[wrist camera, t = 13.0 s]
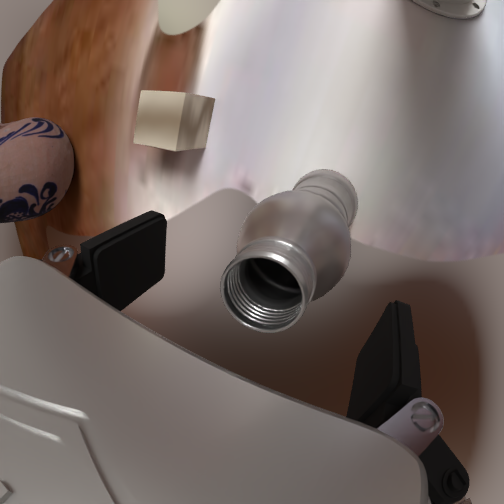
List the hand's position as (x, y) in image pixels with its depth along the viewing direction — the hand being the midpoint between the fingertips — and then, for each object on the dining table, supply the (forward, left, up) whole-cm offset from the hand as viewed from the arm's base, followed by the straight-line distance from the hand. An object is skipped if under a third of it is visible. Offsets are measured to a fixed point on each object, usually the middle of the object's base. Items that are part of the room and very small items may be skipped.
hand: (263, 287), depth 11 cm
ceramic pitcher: (+4, -47, -20) cm, 52 cm away
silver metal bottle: (+1, 0, -20) cm, 20 cm away
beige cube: (-4, -18, -20) cm, 27 cm away
